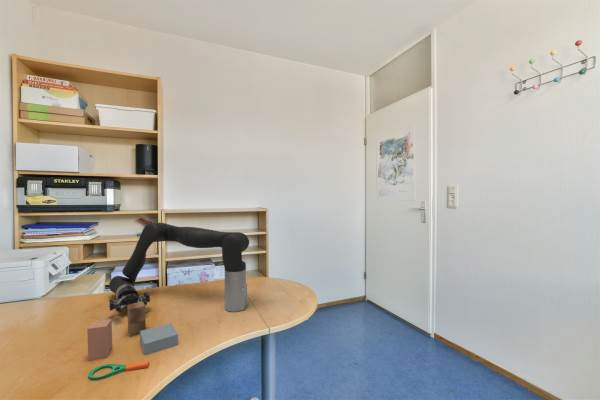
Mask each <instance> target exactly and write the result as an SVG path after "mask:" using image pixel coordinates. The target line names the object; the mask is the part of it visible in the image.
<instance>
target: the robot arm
mask: <svg viewBox="0 0 600 400" xmlns="http://www.w3.org/2000/svg"><path fill="white" fill-rule="evenodd" d="M157 242H160V243H161V242H177V243H179V244H181V245H183V246H185V247H190V248H195V249H212V248H213V249H214V248H220V249H221V258H222V264H223V267H224V310H226V311H227V312H234V313H235V312H240V311H245V309H246V308H247V305H248V284H247V270H246V269H247V264H246V263H247V262H245V261H243V255H242V253H243V252H244V251H246V250H247V249H248V248H249V246H250V240H249V237H248V236H247V235H246V234H245V233H243V232H240V231H239V232H238V231H237V232H236V231H235V232H234V231H233V232H232V231H231V232H230V231H218V230H213V229H209V228H208V229H207V228H203V227H202V228H201V227H196V226H195V227H193V226H177V225H172V224H169V223H165V222H149V223H147V224H146V225H145V226H144V227H143V229H142V230H141V233H140V235H139V238H138V241H137V242H136V245H135V246H134V250H133V252H132V254H131V255H130V257H129V259H128V261H127V262H126V264H125V265H124V267H123V269H122V271H121V272H122V274H123V276H122V275H116V276H114V277H112V278H111V279H110V281H109V284H108V288H109V290H110V291H111V292H112V293H114V294H115V295H116V300H114V299H112V298H111V299H109V301H108V303H109V304H108V305H109V311H113V310H115V312H118V313H121V311H122V309H123V308H125V307H127V305H129V304H134V303H138V302H143V303H144V305H145V306H146V305H148V303H150V302H151V296H150V294H149V293H148V292H143V293H142V294H139V293H138V291H137V290H136V288H135V286H136V285H135V284H136V281H137V277H138V275H139V274H140V272H141V270H142V269H143V267H144V266H145V263H146V259H147V251H148V249H149V248H150V247H151V245H152V244H153V243H157Z"/></svg>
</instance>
